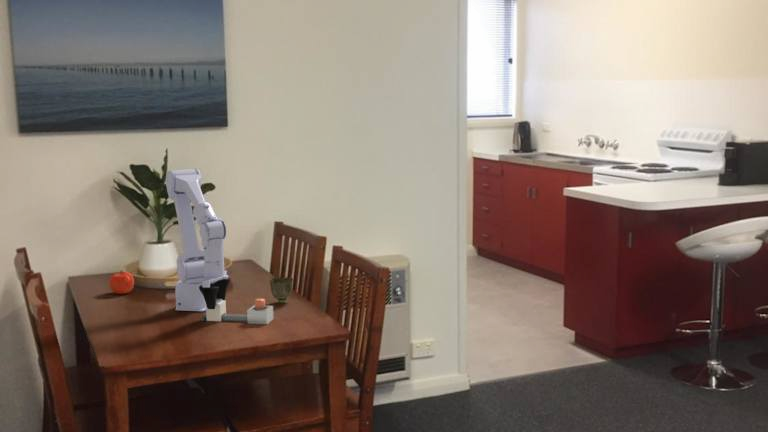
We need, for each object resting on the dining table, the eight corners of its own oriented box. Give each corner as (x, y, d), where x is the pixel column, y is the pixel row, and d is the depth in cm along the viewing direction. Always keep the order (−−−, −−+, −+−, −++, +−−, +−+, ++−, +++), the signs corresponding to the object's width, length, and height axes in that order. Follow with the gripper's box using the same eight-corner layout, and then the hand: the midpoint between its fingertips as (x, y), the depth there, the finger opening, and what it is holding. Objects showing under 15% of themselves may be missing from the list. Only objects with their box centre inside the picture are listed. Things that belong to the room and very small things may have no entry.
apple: (139, 292, 275) (138, 269, 274) (120, 297, 268) (119, 273, 267) (124, 289, 279) (122, 266, 278) (105, 294, 272) (103, 271, 271)
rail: (201, 320, 239) (200, 315, 239) (206, 316, 244) (206, 311, 244) (247, 322, 237) (247, 317, 237) (252, 318, 241) (252, 313, 241)
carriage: (206, 320, 239) (205, 302, 238) (212, 316, 244) (211, 298, 243) (220, 321, 238) (219, 303, 237) (226, 317, 243) (225, 299, 242)
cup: (289, 306, 255) (288, 281, 253) (267, 305, 256) (266, 281, 255) (296, 300, 262) (295, 276, 261) (274, 299, 263) (274, 275, 262)
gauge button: (253, 308, 237) (253, 300, 236) (256, 305, 240) (256, 298, 239) (263, 308, 236) (263, 301, 236) (266, 305, 239) (266, 298, 239)
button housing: (247, 323, 236) (246, 310, 236) (253, 317, 242) (253, 305, 241) (267, 324, 235) (266, 311, 235) (273, 318, 241) (273, 305, 240)
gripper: (217, 266, 230) (219, 312, 232) (235, 256, 245) (237, 299, 247) (194, 265, 232) (196, 311, 234) (213, 256, 246) (215, 299, 248)
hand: (216, 305), depth 240 cm, fingers open, 7 cm apart
